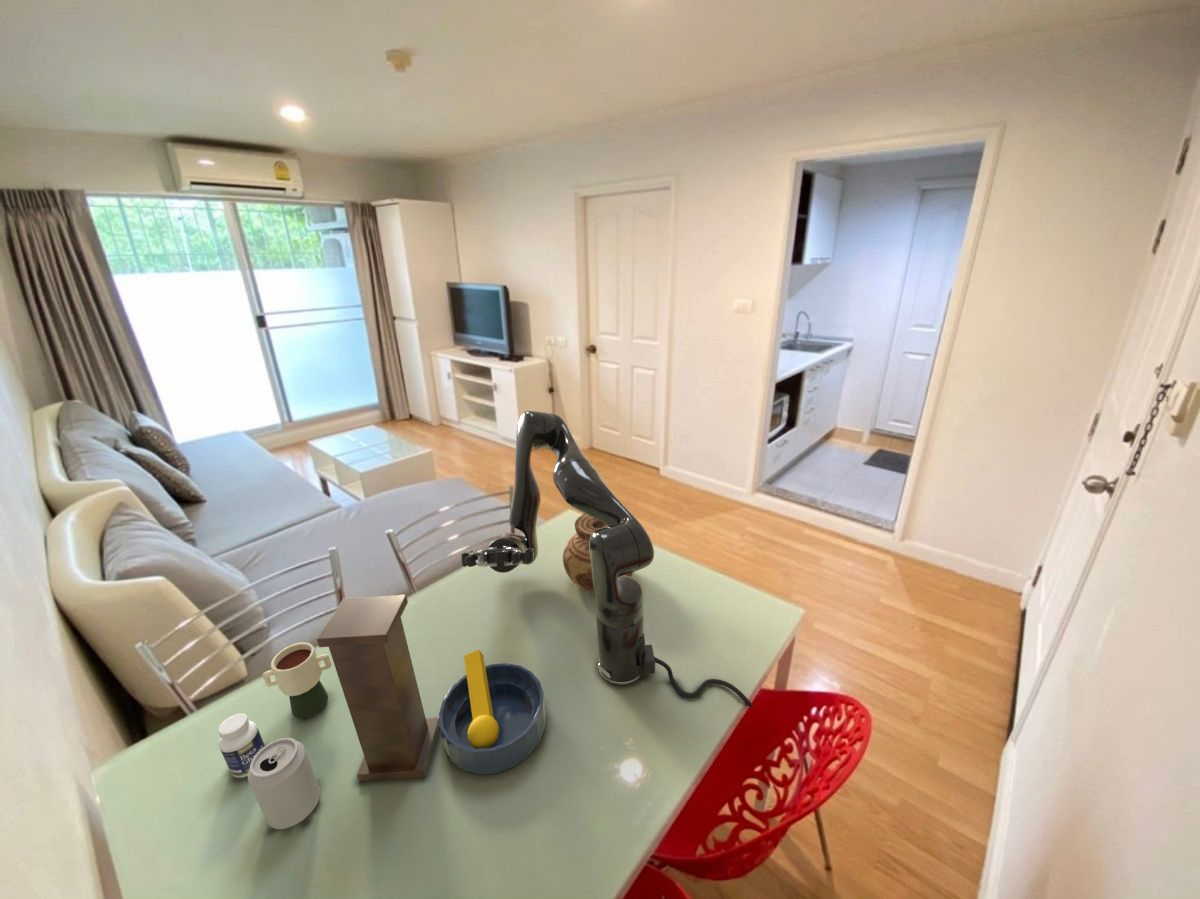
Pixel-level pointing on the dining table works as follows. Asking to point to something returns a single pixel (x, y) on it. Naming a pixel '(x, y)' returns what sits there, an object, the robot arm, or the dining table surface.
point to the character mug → (300, 678)
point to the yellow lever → (480, 703)
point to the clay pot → (581, 552)
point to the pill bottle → (239, 743)
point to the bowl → (512, 709)
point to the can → (284, 783)
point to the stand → (380, 687)
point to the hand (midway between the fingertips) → (492, 559)
